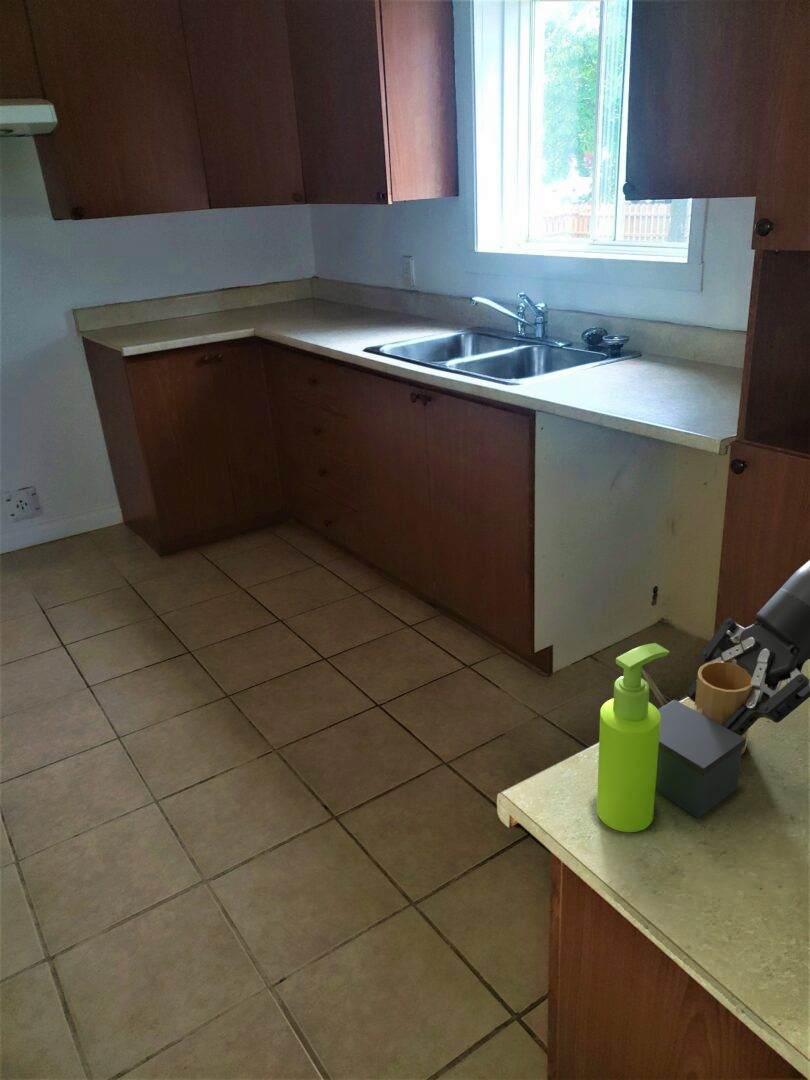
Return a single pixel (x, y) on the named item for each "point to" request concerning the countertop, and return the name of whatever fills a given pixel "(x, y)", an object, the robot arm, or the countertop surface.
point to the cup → (722, 691)
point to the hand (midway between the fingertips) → (709, 716)
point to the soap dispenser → (629, 746)
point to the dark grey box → (696, 759)
